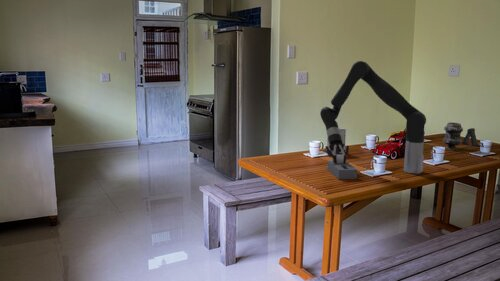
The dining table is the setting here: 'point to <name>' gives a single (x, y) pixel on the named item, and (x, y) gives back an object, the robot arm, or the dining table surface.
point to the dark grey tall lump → (452, 135)
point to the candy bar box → (342, 132)
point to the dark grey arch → (473, 138)
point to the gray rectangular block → (339, 158)
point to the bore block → (342, 170)
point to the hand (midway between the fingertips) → (340, 162)
